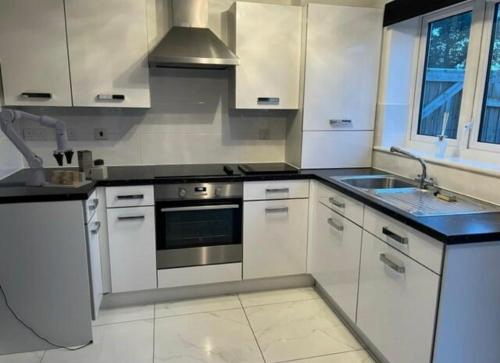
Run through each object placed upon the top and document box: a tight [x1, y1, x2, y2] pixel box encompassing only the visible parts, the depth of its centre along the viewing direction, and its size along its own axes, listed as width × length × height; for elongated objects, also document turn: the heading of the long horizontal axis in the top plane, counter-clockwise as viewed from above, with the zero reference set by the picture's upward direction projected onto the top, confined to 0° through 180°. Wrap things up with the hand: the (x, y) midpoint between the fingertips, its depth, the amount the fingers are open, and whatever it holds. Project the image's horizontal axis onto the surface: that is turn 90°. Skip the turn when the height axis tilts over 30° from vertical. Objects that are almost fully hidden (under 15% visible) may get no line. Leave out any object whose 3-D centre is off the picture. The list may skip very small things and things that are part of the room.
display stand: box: [42, 171, 92, 189], centre depth 209 cm, size 20×15×6 cm
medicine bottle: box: [91, 158, 109, 181], centre depth 224 cm, size 7×7×12 cm
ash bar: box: [50, 170, 79, 181], centre depth 206 cm, size 14×4×5 cm, turn 80°
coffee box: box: [76, 149, 94, 178], centre depth 233 cm, size 9×6×16 cm
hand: (65, 164), depth 214 cm, fingers open, 7 cm apart
